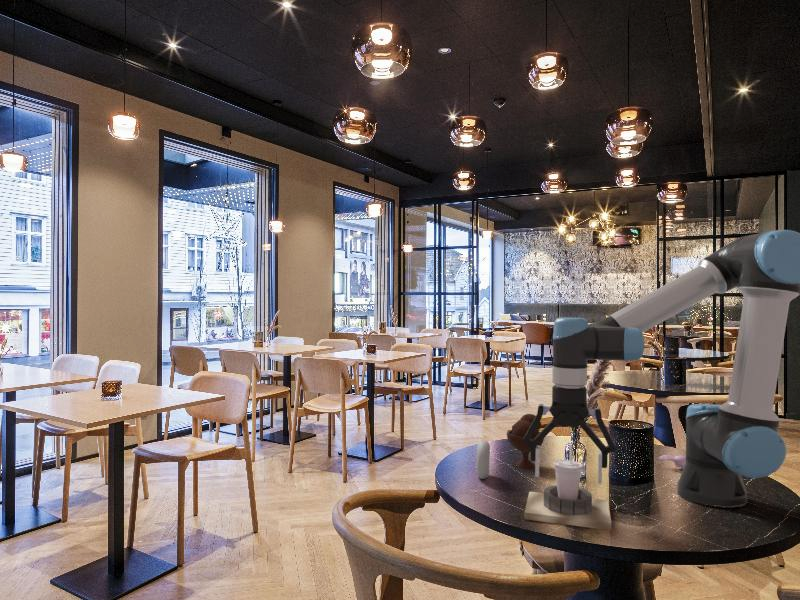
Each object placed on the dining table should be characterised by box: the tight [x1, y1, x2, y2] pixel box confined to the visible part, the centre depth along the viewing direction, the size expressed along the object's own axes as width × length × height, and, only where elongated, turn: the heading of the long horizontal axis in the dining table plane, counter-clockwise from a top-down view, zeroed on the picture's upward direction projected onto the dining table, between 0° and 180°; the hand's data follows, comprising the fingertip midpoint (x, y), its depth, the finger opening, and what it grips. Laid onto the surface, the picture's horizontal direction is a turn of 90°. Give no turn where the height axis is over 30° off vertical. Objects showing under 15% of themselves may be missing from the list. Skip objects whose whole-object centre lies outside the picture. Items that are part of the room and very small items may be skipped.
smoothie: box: [553, 444, 584, 500], centre depth 129 cm, size 6×6×14 cm
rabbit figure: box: [658, 454, 686, 471], centre depth 162 cm, size 6×6×15 cm
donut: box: [475, 440, 491, 480], centre depth 152 cm, size 10×4×10 cm, turn 171°
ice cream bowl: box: [506, 413, 545, 470], centre depth 164 cm, size 11×11×15 cm
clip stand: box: [524, 484, 612, 531], centre depth 129 cm, size 18×14×4 cm
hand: (567, 478), depth 129 cm, fingers open, 13 cm apart
